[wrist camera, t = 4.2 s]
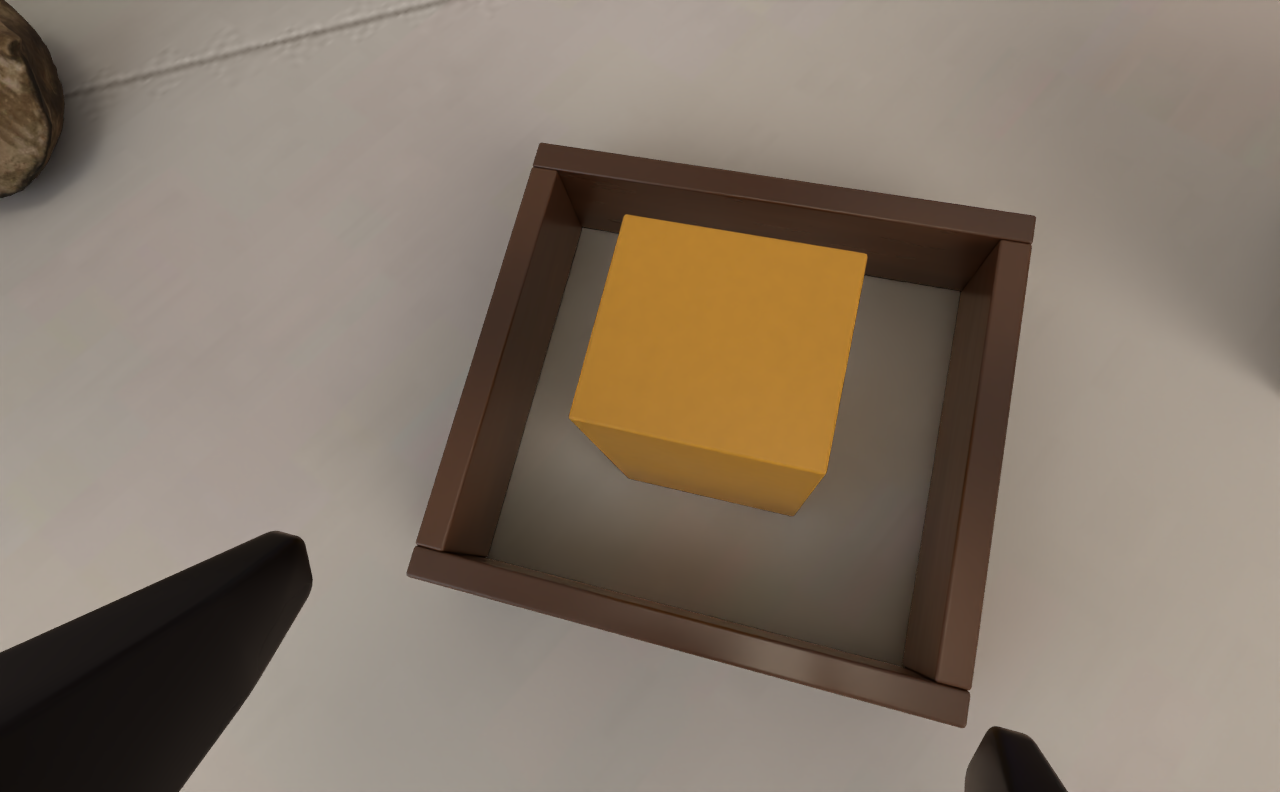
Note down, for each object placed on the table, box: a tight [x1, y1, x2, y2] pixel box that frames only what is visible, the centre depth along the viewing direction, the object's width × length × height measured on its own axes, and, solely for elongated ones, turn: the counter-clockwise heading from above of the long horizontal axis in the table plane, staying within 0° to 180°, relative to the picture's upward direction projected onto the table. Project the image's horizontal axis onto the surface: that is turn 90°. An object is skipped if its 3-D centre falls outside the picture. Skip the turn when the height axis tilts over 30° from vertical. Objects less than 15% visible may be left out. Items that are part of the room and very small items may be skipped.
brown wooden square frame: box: [407, 143, 1036, 728], centre depth 20 cm, size 13×14×4 cm
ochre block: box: [569, 214, 868, 516], centre depth 18 cm, size 4×5×8 cm
